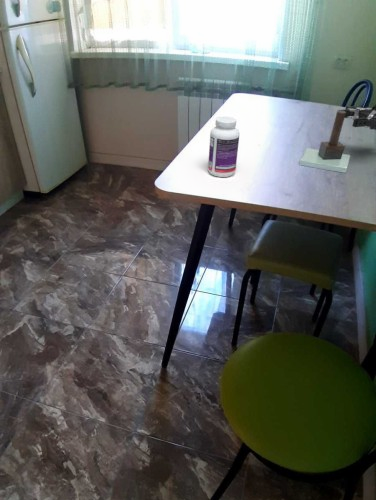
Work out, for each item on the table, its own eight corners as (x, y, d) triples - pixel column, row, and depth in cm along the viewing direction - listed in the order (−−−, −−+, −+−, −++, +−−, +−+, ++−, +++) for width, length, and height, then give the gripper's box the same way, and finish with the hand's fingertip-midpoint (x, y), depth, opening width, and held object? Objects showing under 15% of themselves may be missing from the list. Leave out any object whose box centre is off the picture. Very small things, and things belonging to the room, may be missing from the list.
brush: (335, 154, 131) (348, 109, 122) (340, 159, 128) (354, 113, 119) (317, 155, 130) (329, 109, 121) (322, 159, 127) (334, 113, 118)
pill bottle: (240, 173, 121) (247, 119, 111) (224, 180, 116) (229, 126, 106) (218, 165, 124) (223, 113, 114) (202, 172, 120) (205, 119, 110)
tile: (349, 159, 132) (350, 155, 131) (345, 173, 124) (347, 168, 123) (305, 152, 135) (306, 147, 134) (299, 165, 127) (300, 160, 126)
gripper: (379, 95, 128) (335, 98, 124) (410, 108, 119) (364, 111, 114) (370, 121, 133) (328, 124, 129) (400, 135, 124) (355, 139, 119)
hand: (345, 118), depth 122 cm, fingers open, 8 cm apart
